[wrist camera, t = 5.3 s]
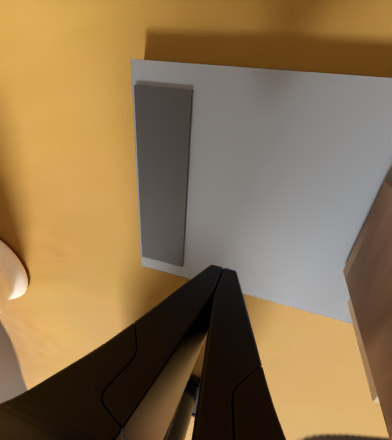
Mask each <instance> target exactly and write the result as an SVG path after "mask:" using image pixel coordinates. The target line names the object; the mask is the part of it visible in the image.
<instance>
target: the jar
mask: <svg viewBox="0 0 392 440" xmlns="http://www.w3.org/2000/svg"><path fill="white" fill-rule="evenodd" d="M27 288H28V277H27V274H26V271H25V269H24V267H23V265H22V263H21V261H20V260H19V259H18V257H17V256H16V255H15V253H14V252H13V251H12V250H11V249H10V248H9V247H8V246H7V245H6V244H5V243H4V242H2V241H1V240H0V314H1V313H2V311H3V309H4V308H5V306H6V304H7V300H10V299H14V298H18V297H20V296H22V295H23V294H24V293H25V292H26V290H27Z"/></svg>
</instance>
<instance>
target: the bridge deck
mask: <svg viewBox="0 0 392 440" xmlns="http://www.w3.org/2000/svg"><path fill="white" fill-rule="evenodd" d="M131 72H132V91H133V111H134V130H135V150H136V169H137V189H138V208H139V228H140V247H141V266H145V267H148V268H152V269H155V270H159V271H163V272H166V273H170V274H174V275H177V276H181V277H184V278H188V279H192V278H194V277H195V276H196V275H198V274H199V273H200V272H202V271H203V270H204V269H206V268H207V267H208V266H210V265H216V266H220V267H222V268H223V269H224V268H228V269H232V270H235V271H236V272H237V275H238V279H239V282H240V286H241V290H242V293H243V294H246V295H250V296H253V297H257V298H260V299H264V300H268V301H271V302H275V303H279V304H282V305H286V306H289V307H293V308H297V309H300V310H304V311H308V312H311V313H315V314H318V315H322V316H326V317H329V318H333V319H337V320H340V321H344V322H347V323H351V324H353V327H354V330H355V334H356V338H357V342H358V346H359V350H360V353H361V357H362V361H363V365H364V369H365V373H366V377H367V380H368V384H369V388H370V392H371V396H372V400H373V402H376V403H379V404H380V402H379V399H378V395H377V391H376V388H375V384H374V381H373V377H372V373H371V370H370V366H369V363H368V359H367V356H366V352H365V348H364V345H363V341H362V338H361V334H360V331H359V327H358V323H357V320H356V316H355V313H354V309H353V305H352V302H351V298H350V295H349V291H348V288H347V284H346V280H345V277H344V273H343V270H344V268H345V265H346V263H347V261H348V259H349V257H350V255H351V253H352V251H353V248H354V246H355V244H356V242H357V240H358V238H359V236H360V233H361V231H362V229H363V227H364V225H365V223H366V221H367V219H368V216H369V214H370V212H371V210H372V208H373V206H374V204H375V201H376V199H377V197H378V195H379V193H380V191H381V189H382V186H383V184H384V182H385V181H387V182H392V78H386V77H372V76H358V75H344V74H331V73H317V72H303V71H289V70H276V69H262V68H248V67H234V66H220V65H207V64H193V63H179V62H165V61H151V60H138V59H131Z"/></svg>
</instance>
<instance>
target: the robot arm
mask: <svg viewBox="0 0 392 440" xmlns="http://www.w3.org/2000/svg"><path fill="white" fill-rule="evenodd" d="M134 324H135V325H134ZM134 324H133V323H132V324H131V325H130V326H128V327H127V328H126V329H124V330H123V331H122V332H120V333H119V334H117V335H116V336H115V337H113V338H112V339H110V340H109V341H107V342H106V343H105V344H103V345H101V346H100V347H98V348H97V349H95V350H94V351H92V352H90V353H89V354H87V355H86V356H84V357H83V358H81V359H79V360H78V361H76V362H74V363H73V364H71V365H69V366H68V367H66V368H64V369H63V370H61V371H59V372H58V373H56V374H55V375H53V376H51V377H50V378H48V379H46V380H45V381H43V382H41V383H40V384H38V385H36V386H35V387H33V388H31V389H30V390H28V391H26V392H24V393H22V394H20V395H19V396H16V397H15V398H12V399H10V400H7V401H5V402H3V403H0V440H185V437H186V433H187V430H188V426H189V423H190V419H191V416H193V417H195V421H194V427H193V434H192V440H286V438H285V436H284V433H283V430H282V428H281V425H280V422H279V419H278V417H277V414H276V411H275V408H274V405H273V402H272V399H271V395H270V392H269V389H268V385H267V382H266V378H265V375H264V371H263V368H262V367H261V366H262V364H261V360H260V357H259V353H258V349H257V345H256V342H255V338H254V334H253V331H252V327H251V323H250V319H249V316H248V312H247V308H246V305H245V301H244V297H243V293H242V290H241V286H240V282H239V279H238V275H237V272H236V271H235V270H232V269H228V268H224V269H223V268H222V267H220V266H216V265H210V266H208V267H207V268H206V269H204V270H203V271H202V272H200V273H199V274H198V275H196V276H195V277H194V278H192V279H191V280H190V281H188V282H187V283H186V284H184V285H183V286H182V287H180V288H179V289H178V290H176V291H175V292H174V293H172V294H171V295H170V296H168V297H167V298H166V299H164V300H163V301H162V302H160V303H159V304H158V305H156V306H155V307H154V308H152V309H151V310H150V311H148V312H147V313H146V314H144V315H143V316H142V317H140V318H139V319H138V320H136V321H135V323H134ZM207 333H208V334H207ZM206 336H207V341H206V348H205V354H204V361H203V367H202V374H201V379H199V378H197V377H194V376H191V372H192V370H193V368H194V365H195V363H196V361H197V358H198V356H199V353H200V351H201V349H202V346H203V344H204V341H205V339H206Z"/></svg>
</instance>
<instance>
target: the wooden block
mask: <svg viewBox="0 0 392 440" xmlns="http://www.w3.org/2000/svg"><path fill="white" fill-rule="evenodd" d="M343 273H344V277H345V280H346V284H347V288H348V291H349V295H350V298H351V302H352V305H353V309H354V313H355V316H356V320H357V323H358V327H359V331H360V334H361V338H362V341H363V345H364V348H365V352H366V356H367V359H368V363H369V366H370V370H371V373H372V377H373V381H374V384H375V388H376V391H377V395H378V399H379V402H380V406H381V409H382V413H383V416H384V420H385V424H386V427H387V431H388V434H389V438H390V440H392V182H387V181H385V182H384V184H383V186H382V189H381V191H380V193H379V195H378V197H377V199H376V201H375V204H374V206H373V208H372V210H371V212H370V214H369V216H368V219H367V221H366V223H365V225H364V227H363V229H362V231H361V233H360V236H359V238H358V240H357V242H356V244H355V246H354V248H353V251H352V253H351V255H350V257H349V259H348V261H347V263H346V265H345V268H344V270H343Z"/></svg>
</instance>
